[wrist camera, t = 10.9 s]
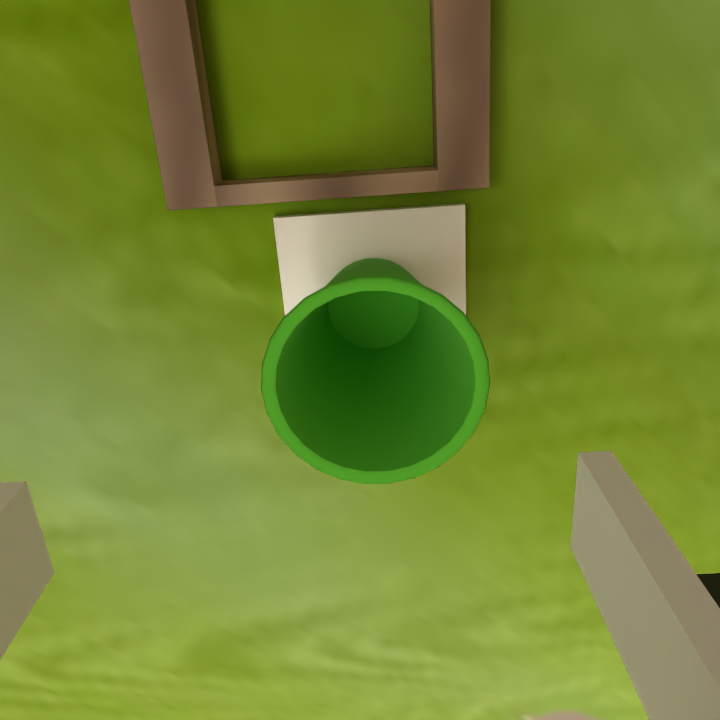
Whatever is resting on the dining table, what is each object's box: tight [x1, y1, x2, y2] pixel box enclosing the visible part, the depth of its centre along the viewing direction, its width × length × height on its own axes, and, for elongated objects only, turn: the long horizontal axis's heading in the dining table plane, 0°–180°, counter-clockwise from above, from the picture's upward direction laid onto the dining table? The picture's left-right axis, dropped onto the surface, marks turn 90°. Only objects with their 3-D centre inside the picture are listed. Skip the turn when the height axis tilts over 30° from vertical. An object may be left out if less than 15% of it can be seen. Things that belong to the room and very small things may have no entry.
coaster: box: [273, 203, 466, 315], centre depth 36 cm, size 10×10×1 cm
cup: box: [261, 258, 490, 484], centre depth 30 cm, size 9×9×11 cm
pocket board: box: [129, 0, 491, 210], centre depth 30 cm, size 16×13×2 cm
